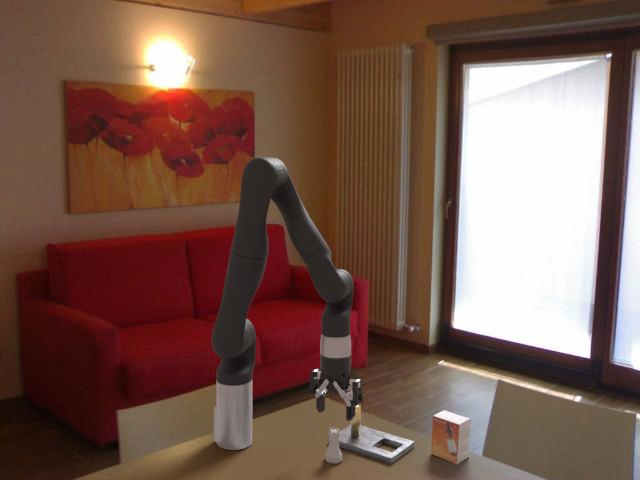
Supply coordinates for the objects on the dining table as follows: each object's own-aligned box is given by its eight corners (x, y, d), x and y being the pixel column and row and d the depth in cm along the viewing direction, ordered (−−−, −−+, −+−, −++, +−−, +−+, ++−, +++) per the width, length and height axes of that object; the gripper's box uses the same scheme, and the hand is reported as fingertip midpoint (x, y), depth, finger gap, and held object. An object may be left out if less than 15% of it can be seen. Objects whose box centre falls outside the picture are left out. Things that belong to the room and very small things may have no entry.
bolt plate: (328, 443, 181) (329, 408, 179) (353, 428, 190) (354, 395, 189) (391, 464, 170) (392, 427, 168) (414, 447, 179) (415, 412, 178)
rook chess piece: (340, 465, 169) (341, 434, 168) (323, 463, 170) (323, 432, 168) (343, 457, 173) (344, 426, 172) (326, 455, 174) (327, 425, 173)
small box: (430, 454, 175) (431, 415, 174) (442, 447, 179) (444, 409, 178) (457, 465, 170) (459, 424, 168) (469, 457, 174) (471, 418, 172)
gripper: (303, 350, 168) (303, 413, 171) (351, 361, 160) (351, 427, 162) (321, 343, 174) (320, 404, 177) (368, 353, 166) (368, 417, 168)
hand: (335, 415), depth 170 cm, fingers open, 8 cm apart
